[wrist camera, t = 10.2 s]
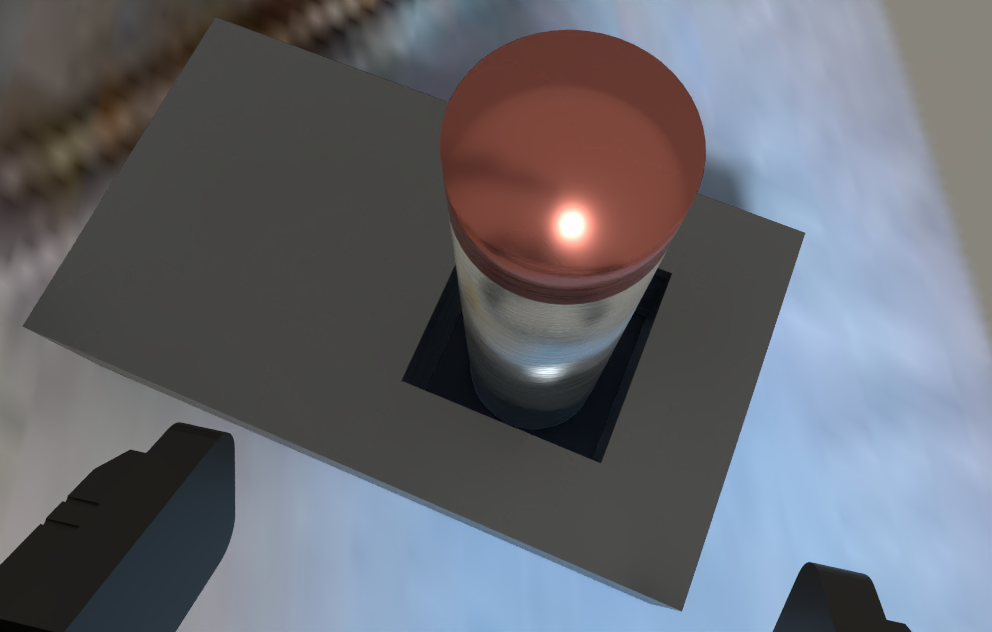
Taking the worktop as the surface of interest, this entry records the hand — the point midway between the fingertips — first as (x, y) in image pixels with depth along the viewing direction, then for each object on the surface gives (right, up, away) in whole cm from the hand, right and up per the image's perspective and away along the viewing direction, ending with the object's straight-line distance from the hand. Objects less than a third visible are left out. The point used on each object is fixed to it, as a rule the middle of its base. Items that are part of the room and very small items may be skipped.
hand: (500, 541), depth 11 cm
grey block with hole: (-2, +3, +11) cm, 11 cm away
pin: (+1, +2, +11) cm, 11 cm away
